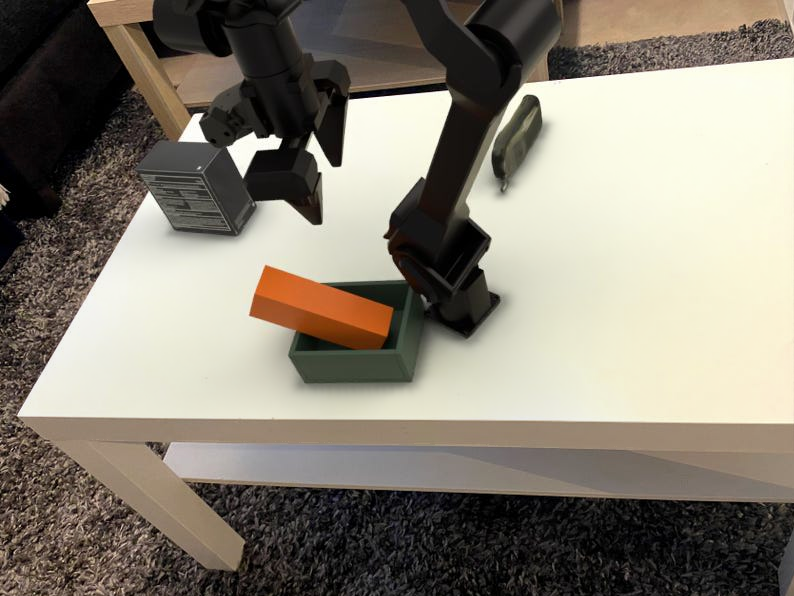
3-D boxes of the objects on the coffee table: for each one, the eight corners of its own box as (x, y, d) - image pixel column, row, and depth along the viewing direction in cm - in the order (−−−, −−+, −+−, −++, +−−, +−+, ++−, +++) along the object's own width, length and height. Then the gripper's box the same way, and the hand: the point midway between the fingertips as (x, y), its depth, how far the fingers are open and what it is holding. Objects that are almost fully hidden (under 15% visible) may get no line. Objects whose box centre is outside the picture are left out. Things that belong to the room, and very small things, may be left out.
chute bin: (426, 308, 84) (415, 278, 80) (412, 382, 78) (400, 353, 74) (325, 311, 86) (310, 282, 82) (304, 383, 80) (287, 355, 76)
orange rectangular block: (393, 307, 79) (265, 264, 76) (387, 336, 77) (254, 293, 73) (383, 328, 82) (259, 287, 79) (376, 356, 80) (248, 315, 76)
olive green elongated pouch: (521, 90, 98) (481, 159, 90) (543, 91, 97) (504, 161, 89) (525, 122, 102) (487, 191, 94) (546, 124, 101) (509, 194, 93)
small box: (260, 203, 100) (227, 140, 92) (239, 237, 97) (202, 173, 89) (195, 199, 103) (157, 137, 95) (172, 231, 100) (131, 169, 92)
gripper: (221, 15, 73) (280, 144, 85) (153, 130, 62) (232, 260, 74) (326, 2, 71) (371, 137, 83) (275, 120, 60) (336, 255, 72)
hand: (327, 194), depth 78 cm, fingers open, 9 cm apart
